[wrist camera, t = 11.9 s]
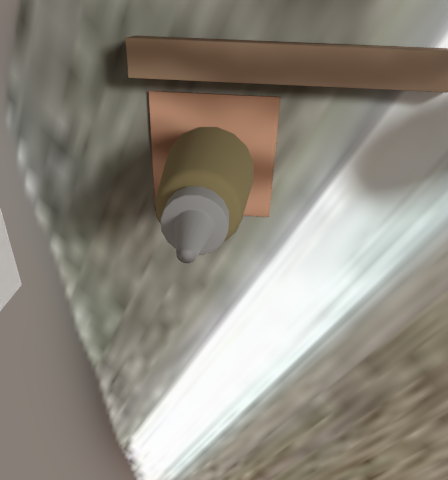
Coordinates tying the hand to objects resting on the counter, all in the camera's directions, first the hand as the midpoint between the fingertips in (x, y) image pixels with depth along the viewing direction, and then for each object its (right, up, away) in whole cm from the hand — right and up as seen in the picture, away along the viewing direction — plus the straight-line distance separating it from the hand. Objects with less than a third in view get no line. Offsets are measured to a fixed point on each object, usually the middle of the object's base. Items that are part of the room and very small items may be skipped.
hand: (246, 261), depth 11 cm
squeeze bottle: (-2, +9, +29) cm, 31 cm away
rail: (+5, +10, +28) cm, 30 cm away
